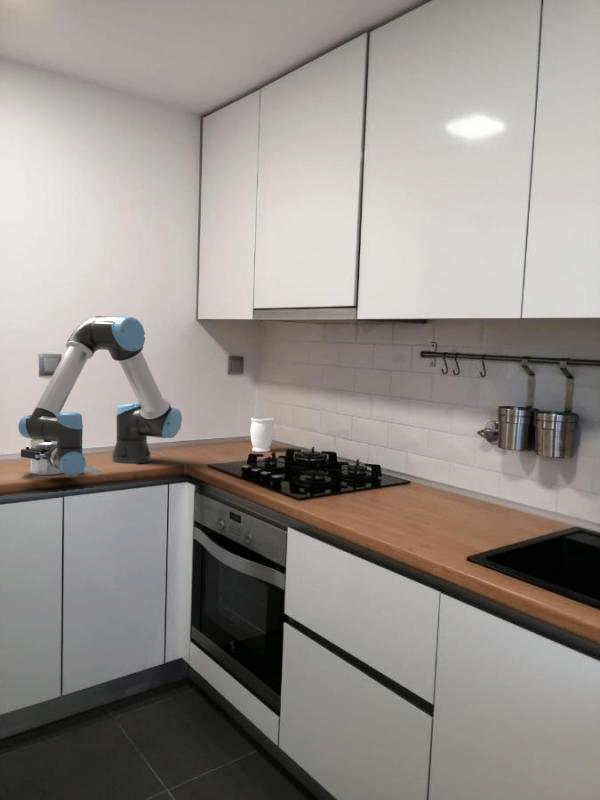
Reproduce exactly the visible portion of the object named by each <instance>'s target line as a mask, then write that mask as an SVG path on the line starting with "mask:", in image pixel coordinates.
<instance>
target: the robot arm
mask: <svg viewBox="0 0 600 800" xmlns="http://www.w3.org/2000/svg"><path fill="white" fill-rule="evenodd" d="M145 335H146V334H145V329H144V327H143V324H142V323H141V322H140V321H139V320H138V319H137V318H135V317H132V316H127V315H119V316H109V315H108V316H106V315H105V316H103V315H95V316H92V317H90V318H87V319H85V320H84V321H83V322H82V323H81V324H80V325H78V326H77V327H76V329H75V330H73V332H72V333H71V335H70V337H69V338H68V340H67V342H66V343H65V347H66V350H65V352H64V354H63V356H62V357H61V359H60V361H59V363H58V365H57V366H56V368H55V370H54V372H53V373H52V376H51V378H50V380H49V381H48V383H47V385H46V386H45V389H44V391H43V393H42V395H41V396H40V399H39V401H38V402H37V404H36V405H35V408H34V409H33V411H32V413H31V414H27V415H24V416H23V417H21V418H20V419H19V422H18V432H19V434H20V435H21V436H22V437H24V438H25V439H31V440H32V439H34V440H36V439H40V440H50V441H57V445H56V446H53V447H52V448H51V449H43V450H37V449H32V448H31V447H30V445H25V446H24V447H25V448H22V449H20V458H24V459H35V460H40V458H42V459H45V460H48V461H49V463H50V464H51V465H52V466H54V467H56V468H57V469H59V470H60V471H61V472H63V473H62V474H63V475H67V476H73V477H74V476H77V475H80V474H82V473H81V472H82V471H83V470H84V469H85V466H86V465H87V464H86V463H87V461H86V458H85V456H84V455H83V429H84V424H83V416H82V414H81V413H80V412H76V411H62V410H63V407H64V406H65V404H66V402H67V400H68V398H69V396H70V395H71V392H72V390H73V388H74V386H75V384H76V382H77V380H78V379H79V377H80V375H81V372H83V371H82V370H83V369H84V367H85V365H86V363H87V361H88V360H89V359H91V358H92V357H93V356H94V354H95V352H97V351H99V350H103V351H105V350H106V351H108V352H109V354H110V356H111V358H112V360H114V361H116V362H118V363H119V365H120V366H121V368H122V370H123V373H124V375H125V378H127V381H128V382H129V386H130V388H131V389H132V391H133V393H134V395H135V397H136V399H137V401H138V402H137V403H126V404H120V405H118V406H117V409H116V443H115V446H114V448H113V452H112V454H111V462H113V463H116V464H124V465H125V464H127V465H128V464H129V465H130V464H131V465H132V464H134V465H137V464H138V465H139V464H140V463H141V464H147V463H150V462H152V454H151V451H150V448H149V444H148V438H147V437H151V438H160V439H172V438H175V437H176V436H177V435H178V434H179V432H180V430H181V427H182V421H183V417H182V412H181V411H180V409H179V408H176V407H172V406H171V404H170V401H169V400H168V399H167V398H165V397H163V396H162V393H161V391H160V389H159V387H158V385H157V382H156V380H155V379H154V376H153V374H152V372H151V369H150V367H149V365H148V363H147V360H146V358H145V357H144V354H143V350H144V344H145V342H146V337H145ZM146 462H147V463H146Z"/></svg>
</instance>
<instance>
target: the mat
mask: <svg viewBox="0 0 600 800" xmlns="http://www.w3.org/2000/svg"><path fill="white" fill-rule="evenodd" d="M97 472H98V473H99V472H101V470H100V469H98V468H96V467H95V466H92V465H91V464H88V465H87V464H86V466H85V469H84V470H83V471H82V472H81V473H80V474H85V473H97Z"/></svg>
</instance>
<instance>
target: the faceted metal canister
mask: <svg viewBox="0 0 600 800" xmlns="http://www.w3.org/2000/svg"><path fill="white" fill-rule="evenodd" d="M56 445H57V441H50V440H38V441H33V442H31V441H30V442H29V447H31V448H32V449H37V450H43V449H51V448H52V447H53V446H56ZM29 459H30V458H29ZM29 461H30V462H29V463H30V465H29V466H30V474H32V475H38V476H51V475H53V476H54V475H59V474H64V473H63V472H61V471H60V470H59V469H57V468H56V467H54V466H52V465H51V464H50V463H49V461H48V460H45V459H42V458H40V460H35V459H30V460H29Z"/></svg>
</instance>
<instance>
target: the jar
mask: <svg viewBox="0 0 600 800" xmlns="http://www.w3.org/2000/svg"><path fill="white" fill-rule="evenodd" d="M250 421H251V423H250V424H251V425H250V441H251V445H252V449H251V450H252V452H257V453H258V452H259V453H266V452H270V451H271V448H270V446H271V445H272V442H273V436H274V424H273V422H274V418H272V417H268V416H267V417H266V416H264V417H263V416H261V417H260V416H256V417H250Z"/></svg>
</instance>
